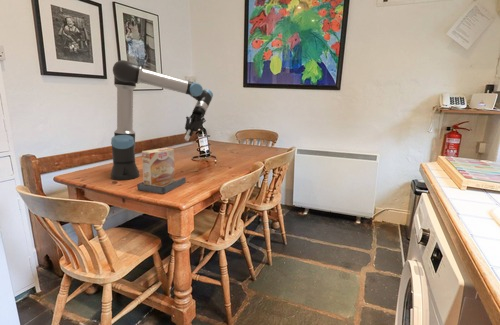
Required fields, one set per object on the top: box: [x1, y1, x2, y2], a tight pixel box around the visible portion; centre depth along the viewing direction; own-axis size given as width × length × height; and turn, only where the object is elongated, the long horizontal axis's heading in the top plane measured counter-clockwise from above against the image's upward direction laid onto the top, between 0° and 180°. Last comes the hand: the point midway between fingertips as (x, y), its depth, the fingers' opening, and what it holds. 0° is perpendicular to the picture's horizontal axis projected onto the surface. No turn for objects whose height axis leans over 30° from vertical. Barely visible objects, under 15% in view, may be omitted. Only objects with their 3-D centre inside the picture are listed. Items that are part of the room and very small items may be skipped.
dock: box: [137, 176, 186, 195], centre depth 150 cm, size 15×20×3 cm
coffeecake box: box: [141, 147, 176, 187], centre depth 147 cm, size 15×7×20 cm, turn 144°
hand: (186, 139), depth 168 cm, fingers closed
